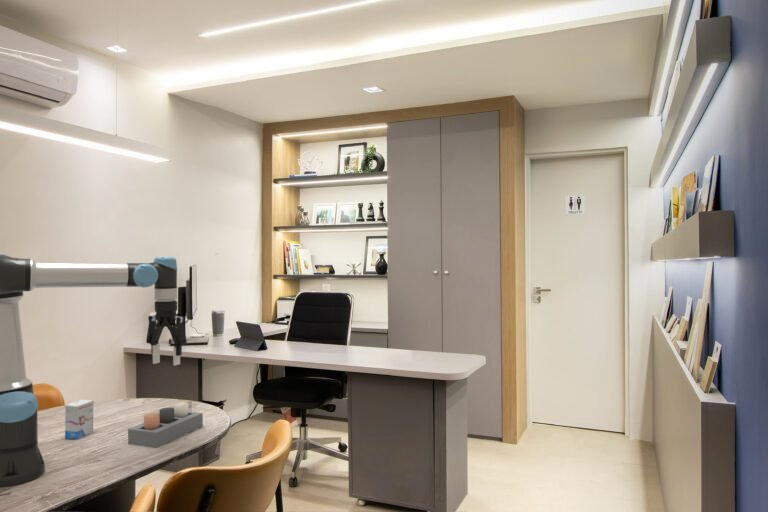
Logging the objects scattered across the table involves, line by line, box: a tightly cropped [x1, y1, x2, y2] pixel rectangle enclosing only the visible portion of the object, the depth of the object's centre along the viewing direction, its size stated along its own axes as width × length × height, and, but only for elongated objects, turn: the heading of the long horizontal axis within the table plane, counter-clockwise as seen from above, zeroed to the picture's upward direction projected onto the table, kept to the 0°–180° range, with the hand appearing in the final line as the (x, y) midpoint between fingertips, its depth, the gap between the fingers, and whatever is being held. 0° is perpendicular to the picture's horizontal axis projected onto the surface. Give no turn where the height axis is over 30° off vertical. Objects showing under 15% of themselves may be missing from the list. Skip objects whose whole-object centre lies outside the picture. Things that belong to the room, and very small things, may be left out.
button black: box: [158, 407, 174, 424], centre depth 202 cm, size 5×5×6 cm
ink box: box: [64, 399, 95, 440], centre depth 202 cm, size 9×5×12 cm, turn 168°
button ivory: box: [173, 401, 189, 418], centre depth 209 cm, size 5×5×6 cm
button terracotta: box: [143, 412, 160, 430], centre depth 195 cm, size 5×5×6 cm
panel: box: [127, 411, 204, 448], centre depth 202 cm, size 24×12×5 cm, turn 160°
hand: (166, 363), depth 202 cm, fingers open, 8 cm apart
